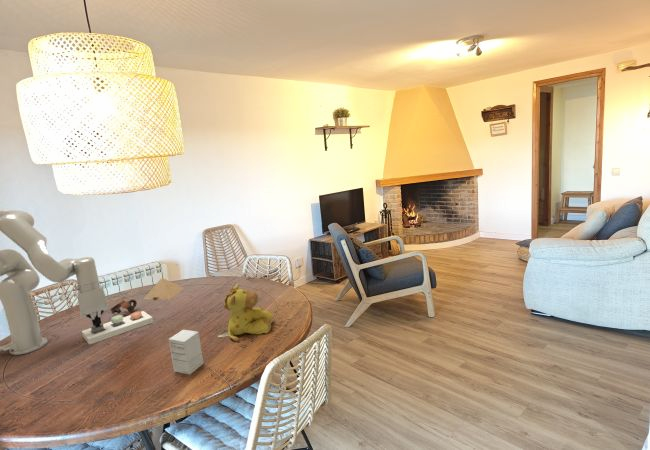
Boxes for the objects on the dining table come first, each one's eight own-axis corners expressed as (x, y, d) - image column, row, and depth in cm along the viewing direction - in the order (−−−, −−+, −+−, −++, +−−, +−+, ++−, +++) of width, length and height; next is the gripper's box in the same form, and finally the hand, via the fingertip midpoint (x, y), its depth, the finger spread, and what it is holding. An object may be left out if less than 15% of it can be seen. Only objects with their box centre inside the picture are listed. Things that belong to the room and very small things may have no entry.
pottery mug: (123, 321, 178) (112, 307, 177) (116, 325, 184) (105, 312, 182) (144, 305, 187) (133, 292, 186) (136, 310, 193) (126, 297, 192)
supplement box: (188, 360, 136) (183, 328, 134) (204, 363, 133) (199, 331, 131) (173, 371, 130) (167, 338, 127) (189, 375, 127) (184, 341, 124)
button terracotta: (133, 324, 170) (132, 316, 169) (130, 321, 173) (129, 314, 172) (144, 320, 173) (142, 313, 172) (140, 318, 176) (139, 310, 176)
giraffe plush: (281, 328, 156) (277, 285, 153) (227, 348, 143) (221, 301, 140) (260, 313, 173) (256, 274, 169) (210, 330, 160) (204, 288, 156)
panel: (89, 344, 155) (88, 339, 154) (82, 336, 163) (81, 330, 163) (153, 322, 172) (152, 317, 172) (144, 315, 181) (143, 310, 180)
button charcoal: (94, 337, 159) (92, 329, 158) (91, 334, 162) (89, 326, 162) (106, 333, 162) (104, 325, 161) (103, 330, 165) (101, 322, 165)
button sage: (114, 328, 164) (112, 320, 163) (111, 325, 167) (109, 317, 167) (125, 324, 167) (123, 316, 167) (122, 321, 171) (120, 314, 170)
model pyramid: (141, 300, 203) (138, 283, 201) (159, 289, 220) (157, 273, 218) (169, 300, 200) (166, 282, 198) (185, 288, 217) (183, 272, 215)
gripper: (70, 293, 150) (79, 335, 154) (111, 282, 160) (118, 322, 164) (66, 289, 156) (75, 330, 159) (106, 279, 166) (114, 317, 169)
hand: (97, 326), depth 162 cm, fingers closed
